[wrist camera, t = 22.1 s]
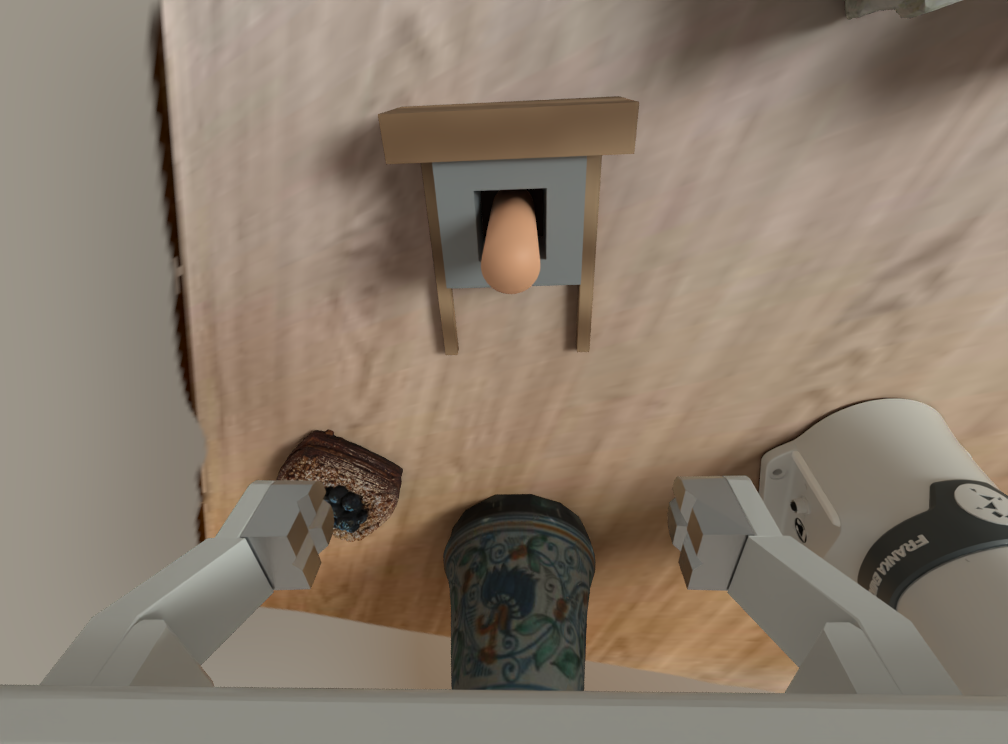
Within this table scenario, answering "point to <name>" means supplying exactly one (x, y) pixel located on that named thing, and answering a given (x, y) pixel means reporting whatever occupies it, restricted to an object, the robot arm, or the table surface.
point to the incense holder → (894, 7)
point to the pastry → (347, 481)
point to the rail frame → (512, 136)
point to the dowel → (511, 243)
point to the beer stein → (519, 595)
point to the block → (468, 178)
